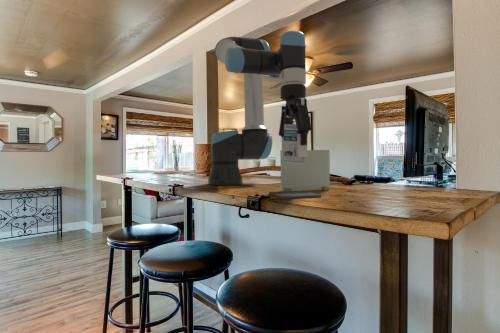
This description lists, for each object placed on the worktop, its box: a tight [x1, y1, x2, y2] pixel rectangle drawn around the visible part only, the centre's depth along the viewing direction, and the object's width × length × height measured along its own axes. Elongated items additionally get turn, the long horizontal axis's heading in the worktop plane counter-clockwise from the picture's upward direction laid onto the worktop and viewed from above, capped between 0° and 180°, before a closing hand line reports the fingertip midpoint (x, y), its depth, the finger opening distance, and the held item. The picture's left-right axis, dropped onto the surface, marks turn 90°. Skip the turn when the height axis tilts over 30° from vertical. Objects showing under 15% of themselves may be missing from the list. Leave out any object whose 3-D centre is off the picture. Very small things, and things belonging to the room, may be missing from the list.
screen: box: [279, 149, 331, 191], centre depth 101 cm, size 4×18×14 cm, turn 104°
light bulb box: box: [283, 123, 305, 162], centre depth 88 cm, size 11×7×11 cm, turn 171°
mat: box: [268, 190, 322, 200], centre depth 89 cm, size 12×12×1 cm
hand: (293, 157), depth 88 cm, fingers closed on light bulb box, 12 cm apart
